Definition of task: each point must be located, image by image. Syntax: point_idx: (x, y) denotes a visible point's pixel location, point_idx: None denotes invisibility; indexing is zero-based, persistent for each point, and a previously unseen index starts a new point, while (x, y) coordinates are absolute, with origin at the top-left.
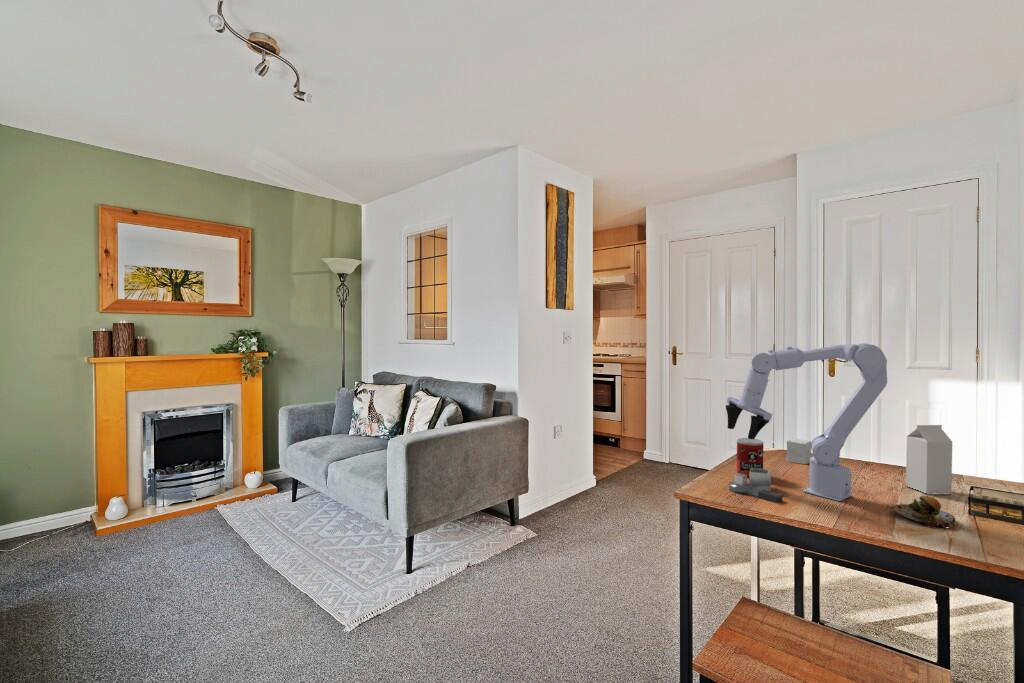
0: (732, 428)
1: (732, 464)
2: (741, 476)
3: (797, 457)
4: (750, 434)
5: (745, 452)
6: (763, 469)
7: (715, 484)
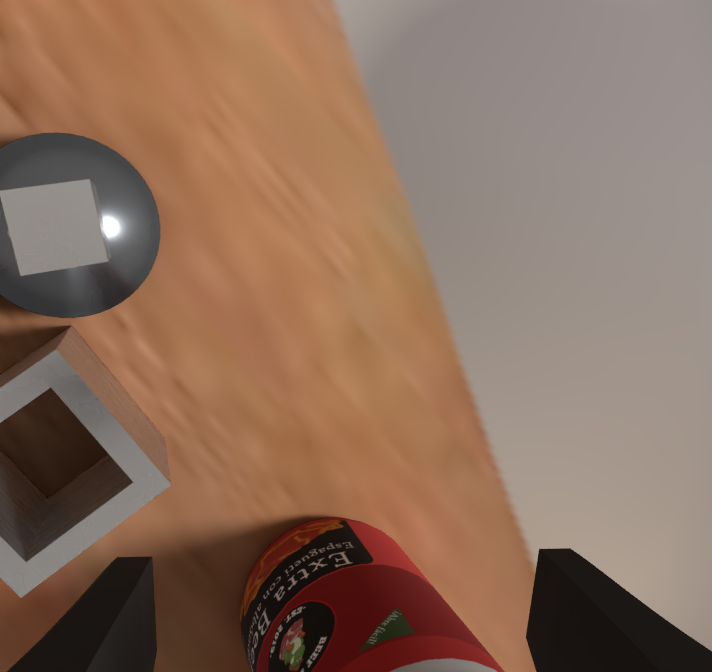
0: (532, 620)
1: None
2: (10, 190)
3: None
4: (84, 596)
5: (354, 625)
6: (65, 542)
7: (269, 173)
